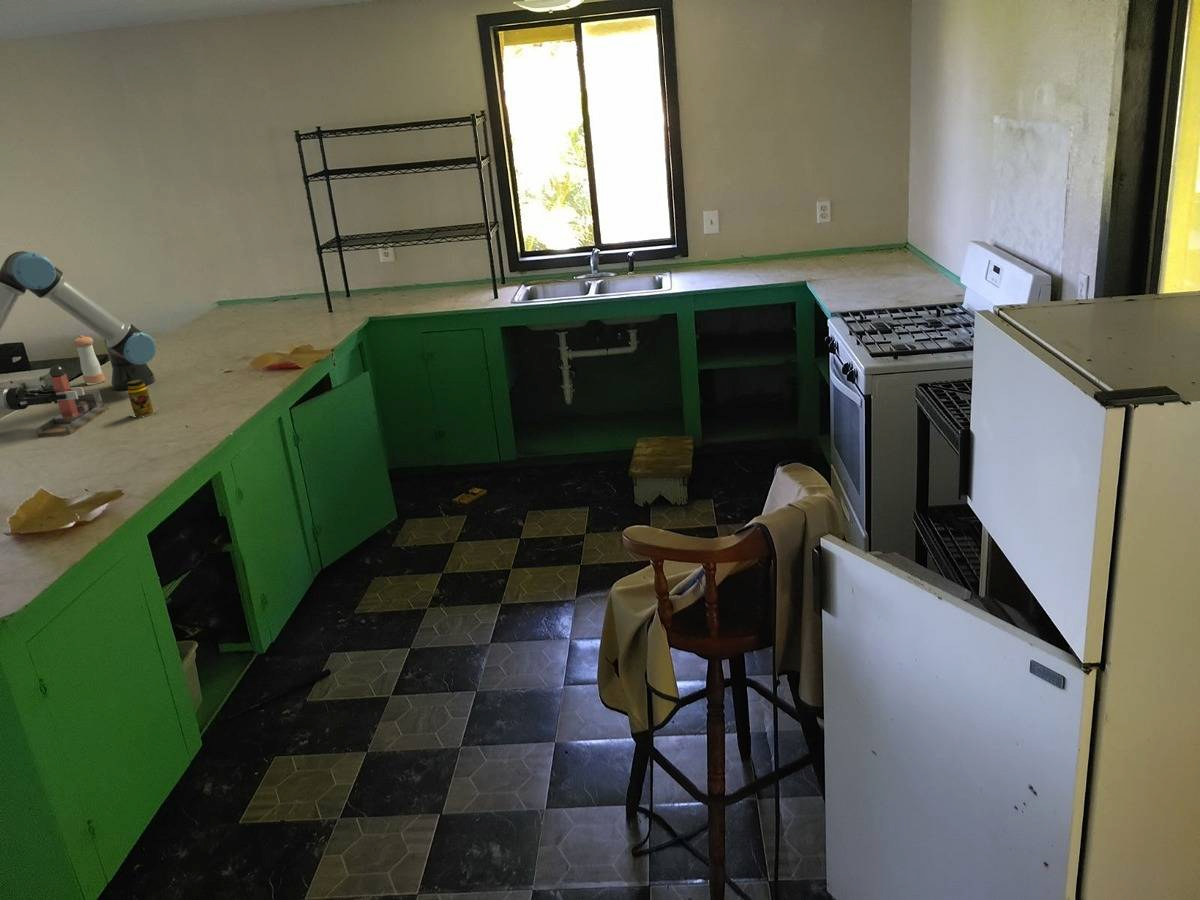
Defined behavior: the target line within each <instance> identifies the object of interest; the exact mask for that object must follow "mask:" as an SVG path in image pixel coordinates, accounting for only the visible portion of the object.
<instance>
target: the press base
mask: <svg viewBox="0 0 1200 900" xmlns="http://www.w3.org/2000/svg"><path fill="white" fill-rule="evenodd" d="M84 394H85V395H81V396H78V399H74V401H75V404H76V405H83V404H87V406H88V409H89V412H87V413H86V414H84V415H83V416H81V417H79V418H78V419H76V420H75V421H73V422H67V423H56V421H55V419H56V418H57V417H59V416H61V415H62V413H61V412H60V414H58V415H57V416H55V417H53V418H51V419H50V420H49V421H46V422H45V423H44V424H42V425H40V426H38V427H37V428H35V434H36V435H37V438H43V437H44V438H45V436H47V437H57V436H56V435H58V436H64V435H63V434H69V435H72V434H73V433H75V432H76V431H75V430H77V429H78V430H80V429H81V428H83V427H84V426H85V424H86V423H87V424H89V423H90V422H92V421H93V420H95V419H96V418H98V417H99V416H101V415H102V414H104V413H105V412H107V411H108V410H110V409H109V406H108V405H105V406H104V403H103V399H102V396H101V395H102V394H101V392H100V390H98V389H97V390H87V391H85V390H84ZM106 410H107V411H106ZM103 412H104V413H103ZM101 413H102V414H101ZM100 414H101V415H100ZM98 415H99V416H98ZM97 416H98V417H97ZM95 417H96V418H95ZM94 418H95V419H94ZM92 419H93V420H92ZM91 420H92V421H91ZM89 421H90V422H89ZM88 422H89V423H88ZM87 424H86V425H87ZM83 425H84V426H83ZM82 426H83V427H82ZM80 427H81V428H80ZM79 428H80V429H79ZM78 430H77V431H78ZM74 431H75V432H74ZM72 432H73V433H72ZM71 433H72V434H71Z"/></svg>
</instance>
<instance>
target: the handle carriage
mask: <svg viewBox="0 0 1200 900" xmlns="http://www.w3.org/2000/svg"><path fill="white" fill-rule="evenodd" d="M49 375H50V381H51V385H52V388H54V391H55V394H56V393H57V392H68V391H71V388H72V387H71V385H70V382H69V379H68V375H67V373H65V368H63V367H62V366H60V365H53V366H51V367H50V368H49ZM57 402H58V403H57V404H58V406H59V410H60V414H61V413H62V415H61V416H59V417H57V418H56V419H55V421H56V423H67V422H73V421H75V420H76V419H78V418H79V417H81V416H83V415H84V414H86V413H87V412H89V409H88V406H87V404H83V405H76V404H75V401H74V399H73V400H62V401H58V400H57Z"/></svg>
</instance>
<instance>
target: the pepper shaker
mask: <svg viewBox="0 0 1200 900" xmlns="http://www.w3.org/2000/svg"><path fill="white" fill-rule="evenodd" d="M72 344H73V347H75V348H76V350H77V353H78V357H79V362H80V364H79V365H80V369H81V372H82V374H83V375H82V379H83V381H84V384H85V383H97V382H101V381H104V380H105V381H106V378H105V374H104V371H102V368H101V364H100V361H99V359H98V357H97V356H96V354H95V350H94V347H93V344H94V339H93V338H92V337H90V336H84V335H83V334H81V335H79V336H78V337H76V339H74V340H73V342H72Z"/></svg>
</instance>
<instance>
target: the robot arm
mask: <svg viewBox="0 0 1200 900" xmlns="http://www.w3.org/2000/svg"><path fill="white" fill-rule="evenodd" d="M27 290H28V291H29V292H31V293H32V294H33V295H35V296H36V297H38V298H39V299H48V300H50V301H51V302H52V303H53V304H55V305H56V306H58V307H59V308H60V309H61V310H64V311H65V312H66V313H68V314H69V315H70V316H72V317H73V318H74V319H76V320H77V321H78V322H80V323H81V324H82V325H85V326H86V328H88V329H89V330H91V331H92V332H94V333H95V334H97V335H98V336H99V337H100V338H102V339H103V340H104V344H105V348H106V351H107V354H108V358H109V361H110V364H111V369H112V372H111V386H112V389H113V390H115V389H117V391H125V390H126V389H127V390H129V389H128V385H127V383H128V382H130V381H132V380H137V379H142V380H143V381H144V384H145V387H147V386H148V385H150V384H151V385H152V383H154V382H156V378H155V375H154V373H153V371H152V370H151V368H150V367H149V366H148V363H149V362H151V361H152V360H153V359H154V357H155V356H156V353H157V343H156V341H155V339H154V338H153V337H152V336H151V335H149V334H147V333H145V332H143V331H142V330H140V329H138V328H137V327H136V324H135V323H131V322H130V321H129V322H128V321H124V322H122V320H120V319H118V318H117V317H116V316H114V315H113V314H112V313H110V312H109V311H108V310H107V309H105V308H103V307H102V306H101V305H100V304H98V303H97V302H96V301H94V300H93V299H91V298H90V296H89V297H88V296H87V295H86V294H85V293H83V292H82V291H81V290H79V289H78V288H77V287H75V285H73V284H72V283H70V282H69V281H68V280H66V279H65V276H64V272H63V271H62V270H60V269H59V268H58V267H57V266H55V265H54V263H53V262H52V261H51V260H50V259H49V258H48V257H46V256H45V255H42V254H41V253H38V252H30V251H23V250H22V251H21V250H20V251H16V252H13V253H11V254H10V255H8V256H7V257H6V259H5V260H4V262H3V263H2V266H1V268H0V331H2V329H3V326H4V325H5V323H6V321H7V320H8V317H9V316H10V314H11V312H12V310H13V308H14V307H15V305H16V303H17V301H18V299H19V297H21V296H24V295H25V293H26V292H27ZM70 388H71V391H68V392H57V393H56V394H55V391H54V388H53V387H46V388H45V387H40V388H38V389H37V390H35V389H34V390H33V389H32V390H31V389H30V390H29V391H28V390H26V388H24V387H20V386H19V387H8V388H7V387H6V388H5V387H4V388H0V412H4V411H5V413H9V412H10V411H22V410H26V409H28V407H29V406H30V407H31V406H37V405H47V404H52V403H54V404H58V401H62V400H73V399H78V396H81V395H85V394H84V392H85V390H84V388H83V386H80V387H79V386H78V387H70ZM57 400H58V401H57Z"/></svg>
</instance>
